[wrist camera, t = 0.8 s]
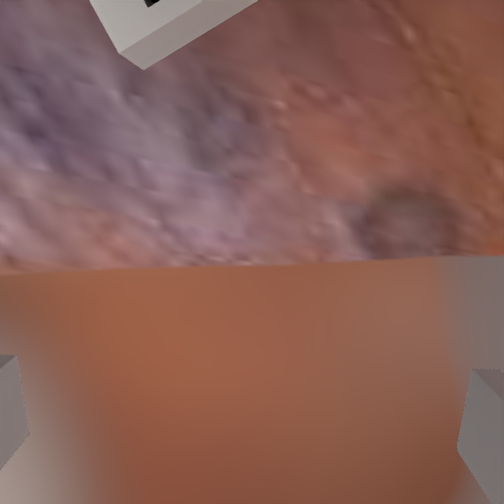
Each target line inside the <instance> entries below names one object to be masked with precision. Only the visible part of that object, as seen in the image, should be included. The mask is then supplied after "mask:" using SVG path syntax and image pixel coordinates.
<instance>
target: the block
mask: <svg viewBox="0 0 504 504" xmlns="http://www.w3.org/2000/svg"><path fill="white" fill-rule="evenodd" d="M89 1H90V2H91V4H92V6H93V8H94V10H95V11H96V13H97V15H98V17H99V19H100V20H101V22H102V24H103V26H104V28H105V29H106V31H107V33H108V35H109V37H110V38H111V40H112V42H113V44H114V46H115V47H116V49H117V51H118V53H119V54H121V55H122V56H123V57H125V58H126V59H128V60H129V61H131V62H132V63H134V64H135V65H137V66H138V67H140V68H141V69H142V70H145V69H147V68H148V67H150V66H152V65H153V64H155V63H157V62H158V61H160V60H162V59H163V58H165V57H166V56H168V55H170V54H171V53H173V52H175V51H176V50H178V49H180V48H181V47H183V46H184V45H186V44H188V43H189V42H191V41H193V40H194V39H196V38H198V37H199V36H201V35H203V34H204V33H206V32H207V31H209V30H211V29H212V28H214V27H216V26H217V25H219V24H221V23H222V22H224V21H226V20H227V19H229V18H230V17H232V16H234V15H235V14H237V13H239V12H240V11H242V10H244V9H245V8H247V7H248V6H250V5H252V4H253V3H255V2H257V1H258V0H160V1H158V2H157V3H155V4H154V5H153V3H152V1H151V0H89Z"/></svg>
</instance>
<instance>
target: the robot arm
mask: <svg viewBox="0 0 504 504" xmlns="http://www.w3.org/2000/svg"><path fill="white" fill-rule="evenodd" d="M29 434H30V433H29V426H28V421H27V415H26V408H25V402H24V396H23V390H22V384H21V377H20V371H19V365H18V359H17V355H0V470H1V469H2V468H3V466H4V465H5V464H6V463H7V461H8V460H9V459H10V458H11V457H12V455H13V454H14V453H15V452H16V451H17V449H18V448H19V447H20V445H21V444H22V443H23V442H24V440H25V439H26V438H27V437H28V436H29ZM457 450H458V452H459V454H460V455H461V457H462V458H463V460H464V461H465V463H466V464H467V466H468V467H469V469H470V470H471V472H472V474H473V475H474V477H475V478H476V480H477V481H478V483H479V484H480V486H481V487H482V489H483V490H484V492H485V493H486V495H487V496H488V498H489V500H490V501H491V503H492V504H504V373H502V372H501V371H500V370H494V369H492V370H491V369H472V372H471V377H470V383H469V388H468V393H467V398H466V403H465V408H464V413H463V419H462V424H461V429H460V434H459V439H458V444H457Z"/></svg>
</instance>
